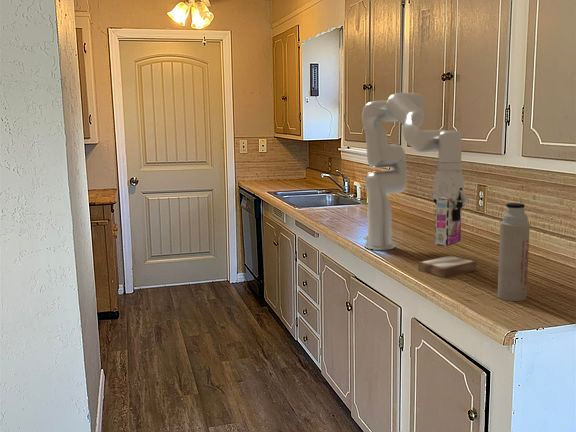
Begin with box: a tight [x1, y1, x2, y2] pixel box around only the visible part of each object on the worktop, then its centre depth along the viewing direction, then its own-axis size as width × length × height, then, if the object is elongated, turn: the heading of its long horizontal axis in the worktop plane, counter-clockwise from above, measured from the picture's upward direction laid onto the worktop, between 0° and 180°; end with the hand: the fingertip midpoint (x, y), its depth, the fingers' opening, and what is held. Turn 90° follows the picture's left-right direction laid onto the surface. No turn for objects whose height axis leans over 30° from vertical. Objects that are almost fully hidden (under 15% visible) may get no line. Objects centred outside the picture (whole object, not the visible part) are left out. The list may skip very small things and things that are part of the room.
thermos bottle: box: [497, 202, 531, 302], centre depth 167 cm, size 8×8×28 cm
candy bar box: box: [434, 197, 463, 247], centre depth 197 cm, size 11×5×16 cm, turn 140°
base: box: [417, 255, 478, 279], centre depth 200 cm, size 12×16×3 cm
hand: (448, 218), depth 197 cm, fingers closed on candy bar box, 6 cm apart
